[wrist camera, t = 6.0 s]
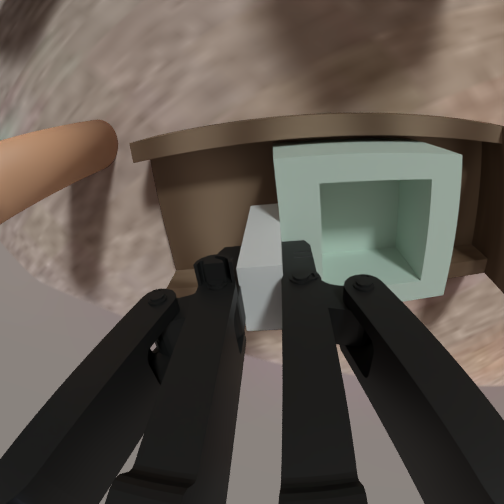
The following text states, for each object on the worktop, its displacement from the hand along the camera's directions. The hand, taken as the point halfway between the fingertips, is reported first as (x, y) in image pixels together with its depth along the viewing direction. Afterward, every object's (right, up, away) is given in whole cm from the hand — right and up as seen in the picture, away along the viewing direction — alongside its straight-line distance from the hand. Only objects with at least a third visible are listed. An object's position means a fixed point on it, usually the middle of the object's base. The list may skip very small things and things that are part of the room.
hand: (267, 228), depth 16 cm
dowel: (-13, +7, +3) cm, 15 cm away
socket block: (+5, +2, +2) cm, 6 cm away
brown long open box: (+6, +3, +4) cm, 8 cm away
